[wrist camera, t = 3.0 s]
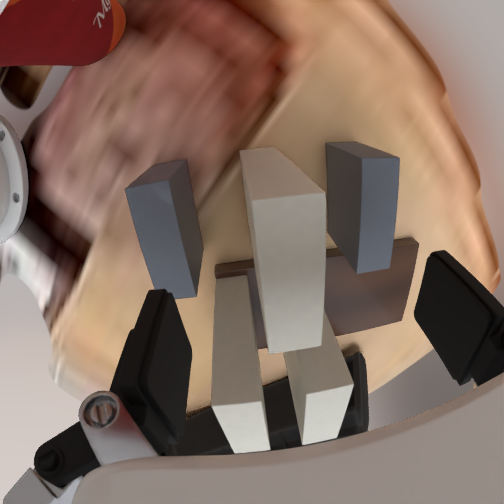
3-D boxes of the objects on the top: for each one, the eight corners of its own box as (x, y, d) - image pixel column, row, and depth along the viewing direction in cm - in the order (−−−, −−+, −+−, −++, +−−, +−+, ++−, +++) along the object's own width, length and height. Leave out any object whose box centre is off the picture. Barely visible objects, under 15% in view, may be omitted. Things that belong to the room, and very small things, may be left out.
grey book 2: (325, 142, 18) (361, 158, 13) (356, 141, 18) (400, 157, 13) (327, 232, 22) (356, 274, 16) (355, 229, 22) (389, 268, 16)
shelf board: (214, 264, 22) (214, 273, 21) (412, 237, 23) (419, 243, 21) (232, 343, 27) (232, 352, 26) (396, 313, 27) (401, 320, 26)
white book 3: (274, 270, 22) (306, 394, 12) (305, 266, 22) (354, 383, 12) (279, 335, 25) (302, 445, 15) (305, 331, 25) (337, 437, 15)
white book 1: (215, 278, 22) (211, 406, 12) (247, 274, 22) (261, 401, 12) (230, 341, 25) (234, 453, 15) (256, 338, 25) (270, 450, 15)
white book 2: (239, 150, 18) (251, 200, 9) (274, 146, 18) (326, 192, 9) (250, 242, 22) (268, 355, 12) (282, 238, 22) (321, 346, 12)
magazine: (408, 396, 20) (164, 531, 18) (411, 406, 21) (184, 534, 19) (317, 310, 35) (147, 430, 33) (327, 324, 37) (163, 438, 35)
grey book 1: (153, 164, 18) (124, 188, 13) (186, 158, 18) (168, 179, 13) (173, 253, 22) (158, 301, 16) (203, 249, 22) (197, 297, 16)
